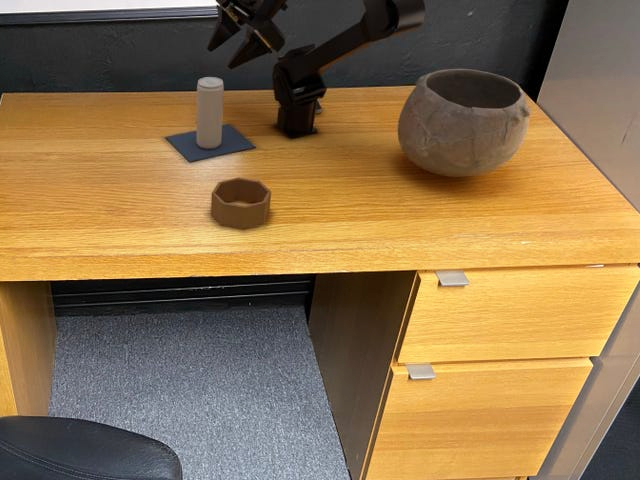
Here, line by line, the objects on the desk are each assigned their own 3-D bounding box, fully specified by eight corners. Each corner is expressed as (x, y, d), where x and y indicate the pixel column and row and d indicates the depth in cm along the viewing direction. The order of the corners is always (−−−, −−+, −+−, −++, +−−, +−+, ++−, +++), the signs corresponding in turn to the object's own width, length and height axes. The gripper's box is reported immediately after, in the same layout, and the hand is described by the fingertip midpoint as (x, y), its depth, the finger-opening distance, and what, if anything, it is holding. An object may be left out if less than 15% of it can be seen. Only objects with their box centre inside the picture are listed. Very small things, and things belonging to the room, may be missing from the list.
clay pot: (375, 141, 133) (391, 63, 122) (481, 133, 134) (505, 54, 123) (413, 203, 118) (434, 121, 107) (531, 193, 119) (564, 110, 109)
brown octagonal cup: (250, 195, 119) (252, 173, 116) (277, 220, 113) (279, 198, 110) (203, 206, 116) (204, 185, 114) (228, 233, 111) (229, 211, 108)
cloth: (228, 125, 139) (228, 123, 139) (255, 147, 132) (255, 146, 132) (165, 138, 135) (165, 136, 135) (189, 162, 128) (189, 161, 128)
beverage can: (207, 152, 130) (209, 89, 122) (190, 143, 133) (191, 81, 124) (226, 145, 132) (229, 82, 124) (209, 136, 135) (211, 74, 127)
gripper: (228, -59, 125) (171, 14, 130) (276, -32, 112) (212, 48, 117) (263, -16, 132) (208, 52, 137) (312, 14, 120) (250, 87, 125)
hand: (218, 58), depth 129 cm, fingers open, 9 cm apart
